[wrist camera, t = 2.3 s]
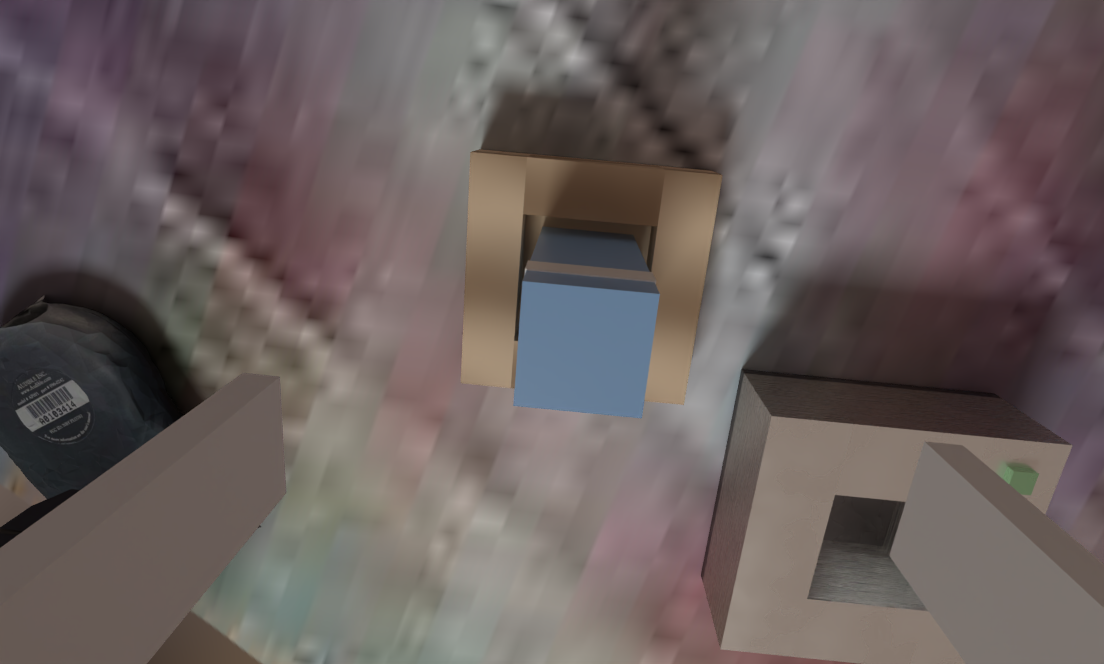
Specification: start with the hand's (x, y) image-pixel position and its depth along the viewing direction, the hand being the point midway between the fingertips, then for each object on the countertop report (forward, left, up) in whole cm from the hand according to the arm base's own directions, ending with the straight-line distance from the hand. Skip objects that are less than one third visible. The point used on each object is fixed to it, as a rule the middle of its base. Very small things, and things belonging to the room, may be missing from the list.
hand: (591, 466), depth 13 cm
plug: (0, 0, -16) cm, 16 cm away
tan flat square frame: (0, 0, -17) cm, 17 cm away
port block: (+10, +14, -17) cm, 24 cm away
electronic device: (+11, -23, -17) cm, 31 cm away
